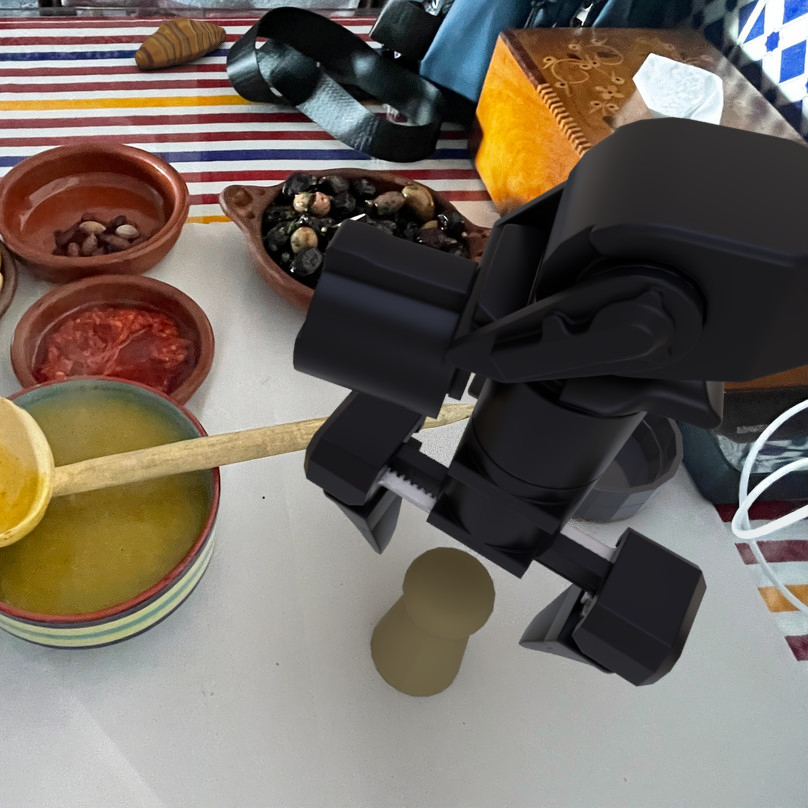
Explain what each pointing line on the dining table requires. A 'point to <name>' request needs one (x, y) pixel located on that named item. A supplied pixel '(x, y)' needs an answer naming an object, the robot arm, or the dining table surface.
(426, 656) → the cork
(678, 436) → the dark grey faceted bowl
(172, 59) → the croissant
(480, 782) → the dining table surface
